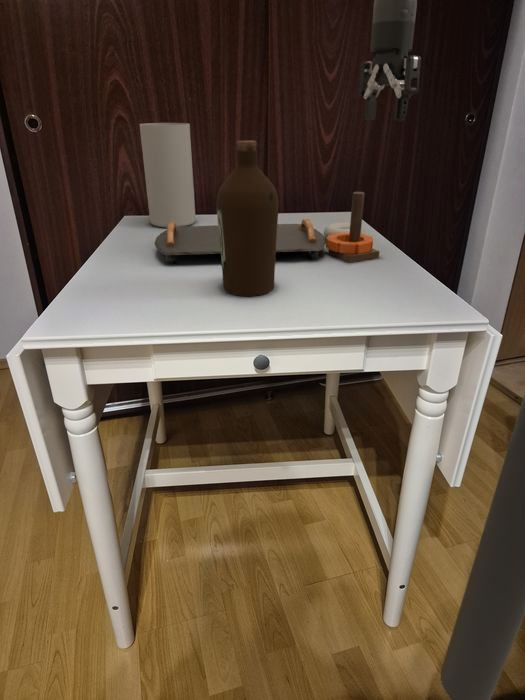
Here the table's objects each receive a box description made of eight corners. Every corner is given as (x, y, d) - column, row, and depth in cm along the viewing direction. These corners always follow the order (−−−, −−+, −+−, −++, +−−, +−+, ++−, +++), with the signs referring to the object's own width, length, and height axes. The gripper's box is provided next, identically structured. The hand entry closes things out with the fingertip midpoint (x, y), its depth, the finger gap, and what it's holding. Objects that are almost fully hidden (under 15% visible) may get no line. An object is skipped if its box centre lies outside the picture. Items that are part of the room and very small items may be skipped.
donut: (372, 241, 118) (343, 232, 125) (374, 227, 117) (344, 218, 124) (343, 248, 113) (314, 238, 120) (344, 233, 111) (315, 224, 118)
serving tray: (150, 267, 100) (147, 237, 97) (160, 238, 120) (158, 212, 117) (334, 261, 103) (336, 232, 100) (313, 234, 124) (315, 209, 121)
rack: (378, 257, 106) (386, 194, 99) (349, 263, 103) (354, 197, 96) (356, 248, 112) (362, 188, 106) (327, 253, 109) (331, 191, 102)
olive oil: (279, 278, 94) (281, 138, 82) (274, 299, 84) (276, 144, 73) (225, 276, 95) (220, 138, 83) (214, 296, 85) (207, 143, 74)
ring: (381, 249, 106) (382, 240, 105) (345, 256, 102) (346, 246, 101) (352, 239, 114) (353, 230, 113) (318, 244, 110) (318, 236, 109)
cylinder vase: (153, 218, 140) (143, 122, 128) (197, 217, 140) (191, 122, 129) (147, 228, 129) (135, 125, 117) (194, 228, 129) (187, 125, 118)
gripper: (438, 16, 83) (425, 121, 90) (383, 28, 94) (375, 119, 102) (405, 13, 80) (394, 122, 87) (352, 25, 91) (346, 120, 98)
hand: (384, 120), depth 94 cm, fingers open, 8 cm apart
